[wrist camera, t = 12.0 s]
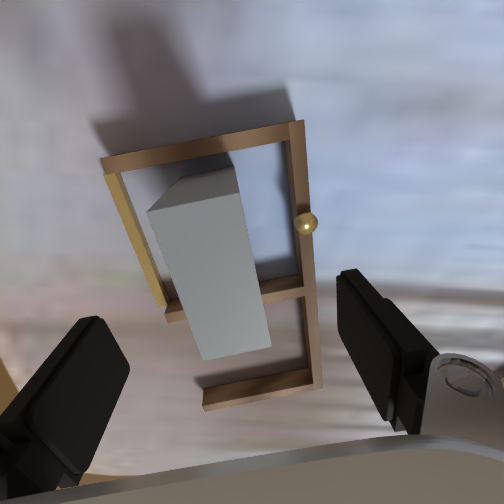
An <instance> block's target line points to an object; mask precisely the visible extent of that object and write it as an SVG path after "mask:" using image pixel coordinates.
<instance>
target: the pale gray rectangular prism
mask: <svg viewBox="0 0 504 504" xmlns="http://www.w3.org/2000/svg"><path fill="white" fill-rule="evenodd" d="M146 213H147V216H148V219H149V221H150V224H151V226H152V229H153V231H154V234H155V237H156V239H157V242H158V244H159V247H160V250H161V252H162V255H163V257H164V260H165V263H166V265H167V268H168V270H169V273H170V275H171V278H172V281H173V283H174V286H175V288H176V291H177V294H178V296H179V299H180V301H181V304H182V306H183V309H184V312H185V314H186V317H187V319H188V322H189V325H190V327H191V330H192V332H193V335H194V338H195V340H196V343H197V345H198V348H199V350H200V353H201V356H202V358H203V361H206V360H211V359H215V358H220V357H225V356H230V355H235V354H239V353H244V352H249V351H254V350H258V349H263V348H268V347H272V345H271V341H270V336H269V331H268V326H267V322H266V317H265V312H264V307H263V302H262V298H261V293H260V288H259V283H258V278H257V274H256V269H255V264H254V259H253V254H252V250H251V245H250V240H249V235H248V230H247V226H246V221H245V216H244V211H243V207H242V202H241V197H240V192H239V187H238V183H237V178H236V173H235V168H234V166H233V167H228V168H224V169H219V170H214V171H209V172H204V173H200V174H195V175H190V176H185V177H181V178H180V179H179V180H178V181H177V182H176V183H175V184H174V185H173V186H172V187H171V188H170V189H169V190H168V191H167V192H166V193H165V194H164V195H163V196H162V197H161V198H160V199H159V200H158V201H157V202H156V203H155V204H154V205H153V206H152V207H151V208H150V209H149V210H148V211H147V212H146Z"/></svg>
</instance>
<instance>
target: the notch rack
mask: <svg viewBox="0 0 504 504" xmlns="http://www.w3.org/2000/svg"><path fill="white" fill-rule="evenodd" d="M280 141H284V145H285V155H286V164H287V174H288V183H289V193H290V202H291V211H292V221H293V230H294V240H295V249H296V259H297V268H298V275H293V276H288V277H283V278H278V279H273V280H267V281H262V282H258V283H259V288H260V293H261V298H262V302H263V304H267V303H272V302H277V301H283V300H288V299H293V298H298V297H301V306H302V315H303V325H304V334H305V344H306V353H307V363H308V368H305V369H300V370H295V371H290V372H285V373H280V374H275V375H270V376H265V377H260V378H255V379H250V380H245V381H240V382H235V383H230V384H225V385H220V386H215V387H210V388H205V389H204V392H203V403H202V407H203V409H204V411H205V412H206V411H211V410H216V409H221V408H226V407H231V406H236V405H241V404H246V403H251V402H256V401H261V400H266V399H271V398H276V397H281V396H286V395H291V394H296V393H301V392H306V391H311V390H316V389H321V388H323V378H322V364H321V350H320V336H319V322H318V308H317V294H316V280H315V266H314V252H313V238H312V232H314V231H315V229H316V228H317V225H318V220H317V218H316V217H315V216H314V215H313V214H312V213H311V210H310V195H309V181H308V167H307V153H306V139H305V125H304V120H298V121H293V122H287V123H282V124H277V125H272V126H266V127H261V128H256V129H251V130H246V131H240V132H235V133H230V134H225V135H219V136H214V137H209V138H204V139H198V140H193V141H188V142H183V143H178V144H172V145H167V146H162V147H157V148H151V149H146V150H141V151H136V152H131V153H125V154H120V155H115V156H110V157H105V158H100V159H101V162H102V164H103V167H104V169H105V171H106V173H105V174H103V176H104V178H105V181H106V183H107V186H108V188H109V190H110V193H111V195H112V197H113V200H114V202H115V205H116V207H117V209H118V212H119V214H120V217H121V219H122V221H123V224H124V226H125V228H126V231H127V233H128V236H129V238H130V240H131V243H132V245H133V248H134V250H135V252H136V255H137V257H138V259H139V262H140V264H141V267H142V269H143V271H144V274H145V276H146V279H147V281H148V283H149V286H150V288H151V291H152V293H153V295H154V298H155V300H156V302H157V305H158V307H161V306H166V305H167V308H166V310H165V313H164V315H165V317H166V319H167V322H168V323H171V322H176V321H181V320H186V319H187V317H186V314H185V312H184V309H183V306H182V304H181V301H180V299H179V298H176V299H171V300H169V298H168V296H167V293H166V290H165V288H164V285H163V283H162V280H161V278H160V275H159V272H158V270H157V267H156V265H155V262H154V260H153V257H152V254H151V252H150V249H149V247H148V244H147V242H146V239H145V236H144V234H143V231H142V229H141V226H140V224H139V221H138V218H137V216H136V213H135V211H134V208H133V206H132V203H131V201H130V198H129V195H128V193H127V190H126V188H125V185H124V183H123V180H122V177H121V175H120V172H124V171H129V170H135V169H140V168H145V167H150V166H155V165H161V164H166V163H171V162H176V161H181V160H187V159H192V158H197V157H202V156H207V155H213V154H218V153H223V152H228V151H234V150H239V149H244V148H249V147H254V146H260V145H265V144H270V143H275V142H280Z"/></svg>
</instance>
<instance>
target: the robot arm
mask: <svg viewBox="0 0 504 504" xmlns="http://www.w3.org/2000/svg"><path fill="white" fill-rule="evenodd" d="M336 286H337V325H338V332H339V335H340V337H341V339H342V341H343V343H344V345H345V347H346V349H347V351H348V353H349V355H350V357H351V359H352V361H353V363H354V365H355V367H356V369H357V371H358V373H359V374H360V376H361V378H362V380H363V382H364V384H365V386H366V388H367V390H368V392H369V394H370V396H371V398H372V400H373V402H374V404H375V406H376V408H377V410H378V412H379V413H380V415H381V417H382V419H383V420H384V421H389V422H390V424H391V425H392V427H393V429H394V431H395V432H397V431H403V430H406V431H407V433H408V435H397V436H386V437H376V438H369V439H362V440H355V441H348V442H341V443H334V444H327V445H320V446H314V447H308V448H302V449H296V450H290V451H284V452H277V453H271V454H265V455H259V456H253V457H247V458H241V459H235V460H229V461H223V462H217V463H211V464H205V465H199V466H193V467H187V468H181V469H175V470H170V471H164V472H158V473H152V474H146V475H140V476H134V477H129V478H124V479H117V480H112V481H106V482H100V483H94V484H89V485H83V486H78V484H79V481H80V480H81V477H82V475H83V473H84V472H86V471H87V469H88V468H89V466H90V464H91V462H92V459H93V457H94V455H95V452H96V450H97V448H98V445H99V443H100V441H101V438H102V436H103V434H104V431H105V429H106V426H107V424H108V422H109V419H110V417H111V415H112V412H113V410H114V408H115V405H116V403H117V401H118V398H119V396H120V394H121V391H122V389H123V387H124V384H125V382H126V380H127V377H128V375H129V372H130V366H129V363H128V361H127V360H126V358H125V356H124V354H123V353H122V351H121V349H120V347H119V345H118V344H117V342H116V340H115V338H114V336H113V335H112V333H111V331H110V329H109V328H108V326H107V324H106V322H105V321H104V319H102V318H100V317H98V316H90V317H85V318H81V319H79V320H78V321H77V322H76V323H75V325H74V326H73V327H72V328H71V330H70V331H69V332H68V333H67V334H66V336H65V337H64V338H63V339H62V341H61V342H60V343H59V344H58V346H57V347H56V348H55V349H54V350H53V352H52V353H51V354H50V355H49V357H48V358H47V359H46V360H45V361H44V363H43V364H42V365H41V366H40V368H39V369H38V370H37V371H36V373H35V374H34V375H33V376H32V377H31V379H30V380H29V381H28V382H27V384H26V385H25V386H24V387H23V389H22V390H21V391H20V392H19V393H18V395H17V396H16V397H15V398H14V400H13V401H12V402H11V403H10V405H9V406H8V407H7V408H6V409H5V411H4V412H3V413H2V414H1V416H0V504H504V388H503V385H502V382H501V380H500V379H499V378H498V376H497V375H496V374H495V373H494V372H493V371H492V370H491V369H490V368H488V367H487V366H486V365H484V364H482V363H481V362H479V361H477V360H475V359H473V358H470V357H468V356H465V355H460V354H455V353H445V354H441V355H440V354H439V352H438V351H437V350H436V349H435V348H434V347H433V346H432V345H431V344H430V343H429V342H428V340H427V339H426V338H425V337H424V336H423V335H422V334H421V333H420V332H419V331H418V330H417V328H416V327H415V326H414V325H413V324H412V323H411V322H410V321H409V320H408V319H407V318H406V316H405V315H404V314H403V313H402V312H401V311H400V310H399V309H398V308H397V307H396V306H395V304H394V303H393V302H392V301H391V300H389V299H387V298H383V297H382V296H381V295H380V294H379V293H378V292H377V291H376V289H375V288H374V287H373V286H372V285H371V284H370V283H369V282H368V280H367V279H366V278H365V277H364V276H363V275H362V274H361V273H360V271H359V270H358V269H350V270H345V271H341V274H340V275H338V276H337V277H336ZM57 486H59V487H60V488H66V489H61V490H56V488H57ZM73 486H77V487H73ZM67 487H72V488H67Z"/></svg>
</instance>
